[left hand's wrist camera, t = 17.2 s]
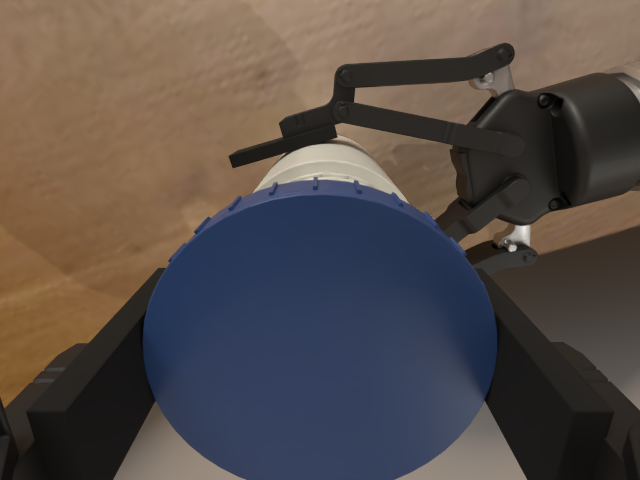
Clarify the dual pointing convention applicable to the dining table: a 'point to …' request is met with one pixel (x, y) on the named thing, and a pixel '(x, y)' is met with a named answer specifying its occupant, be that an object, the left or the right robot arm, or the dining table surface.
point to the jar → (330, 166)
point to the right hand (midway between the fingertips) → (260, 229)
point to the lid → (320, 336)
